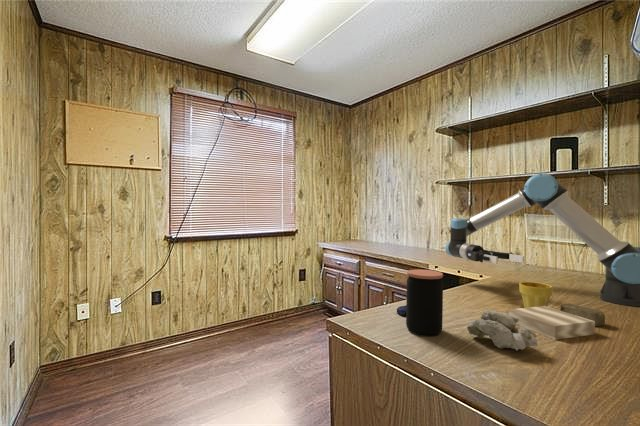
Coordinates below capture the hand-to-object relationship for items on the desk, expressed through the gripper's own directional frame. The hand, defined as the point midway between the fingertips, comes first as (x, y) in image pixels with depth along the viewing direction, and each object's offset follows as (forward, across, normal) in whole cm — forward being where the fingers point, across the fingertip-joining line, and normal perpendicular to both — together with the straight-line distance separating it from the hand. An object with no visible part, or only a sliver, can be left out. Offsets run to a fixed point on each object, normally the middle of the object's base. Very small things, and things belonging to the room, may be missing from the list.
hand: (510, 259), depth 131 cm
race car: (+3, +47, -18) cm, 50 cm away
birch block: (+26, +11, -17) cm, 33 cm away
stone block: (+24, -5, -18) cm, 30 cm away
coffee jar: (+18, +52, -18) cm, 58 cm away
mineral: (+33, +38, -18) cm, 53 cm away
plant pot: (+11, -1, -18) cm, 21 cm away
